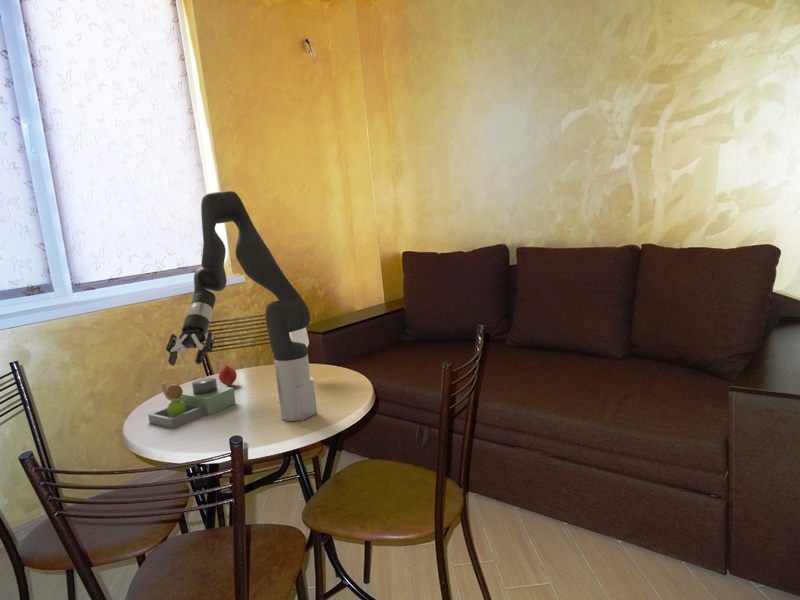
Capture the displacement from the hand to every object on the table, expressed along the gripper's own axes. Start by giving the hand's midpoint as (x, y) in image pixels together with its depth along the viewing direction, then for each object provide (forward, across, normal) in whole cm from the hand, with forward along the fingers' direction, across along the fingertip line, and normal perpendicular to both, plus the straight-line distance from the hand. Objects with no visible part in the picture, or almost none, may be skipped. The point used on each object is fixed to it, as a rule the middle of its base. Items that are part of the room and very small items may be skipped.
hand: (184, 363), depth 157 cm
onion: (-4, +2, +25) cm, 26 cm away
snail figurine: (+16, 0, +5) cm, 16 cm away
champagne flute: (-7, +28, +27) cm, 40 cm away
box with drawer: (+13, +2, +8) cm, 15 cm away
